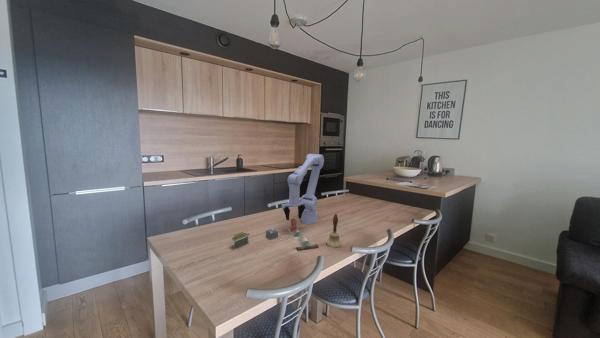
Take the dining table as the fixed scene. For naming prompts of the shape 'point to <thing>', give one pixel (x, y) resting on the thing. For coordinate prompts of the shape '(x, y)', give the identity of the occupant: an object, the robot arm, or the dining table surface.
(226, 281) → the dining table surface
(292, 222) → the pawn
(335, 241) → the hand bell
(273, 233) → the die
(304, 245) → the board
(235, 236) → the potted plant
